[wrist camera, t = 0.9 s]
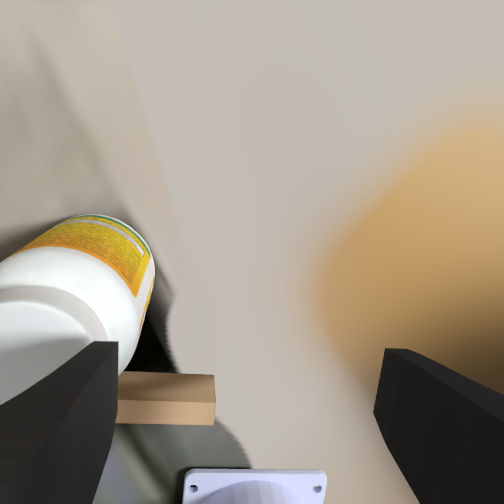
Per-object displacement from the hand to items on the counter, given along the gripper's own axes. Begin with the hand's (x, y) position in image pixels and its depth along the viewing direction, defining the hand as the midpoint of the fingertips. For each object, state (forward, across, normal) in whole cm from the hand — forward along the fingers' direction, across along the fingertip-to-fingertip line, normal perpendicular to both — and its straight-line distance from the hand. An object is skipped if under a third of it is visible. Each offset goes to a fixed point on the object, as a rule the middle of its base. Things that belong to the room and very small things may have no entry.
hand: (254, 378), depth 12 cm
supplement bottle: (+11, +6, 0) cm, 12 cm away
